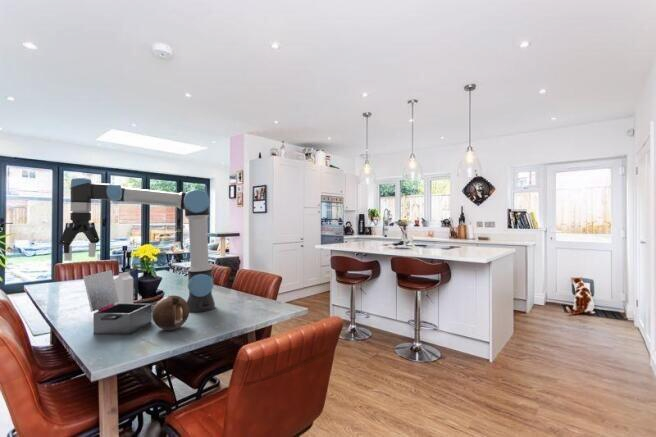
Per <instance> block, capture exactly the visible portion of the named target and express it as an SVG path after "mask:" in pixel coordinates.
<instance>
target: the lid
mask: <svg viewBox="0 0 656 437" xmlns="http://www.w3.org/2000/svg"><path fill="white" fill-rule="evenodd" d="M114 279H115V278H114V274H113V270H112V269H110V270H106V271H103V272H97V273H93V274H89V275H84V276H83V282H84V286H85V287H84V288H85V290H86V294H87V300H88V305H89V308H90V312H91V313H92V312H96V311H98V309H101V308H103V307H106V306H109V305H111V304H113V305H114V303H116V302H119V300H118V296H117V291H116V287H115V282H114Z"/></svg>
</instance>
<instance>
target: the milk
mask: <svg viewBox="0 0 656 437" xmlns="http://www.w3.org/2000/svg"><path fill="white" fill-rule="evenodd" d="M114 282H115V287H116V291H117V296H118V300H119V302H116V303H114V304H113V306H114V305H116V304H134V277H133V276H132V275H130V274H129V271H126V272H125V271H124V272H121V273H118V276H117V277H116V278H114Z"/></svg>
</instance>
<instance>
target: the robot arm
mask: <svg viewBox="0 0 656 437" xmlns="http://www.w3.org/2000/svg"><path fill="white" fill-rule="evenodd" d="M69 189H70V211H71V212H70V213H69V214H70V218H69V219H70V221H71V222H66V223H65V228H64V229H63V230H64V231H63V233H62V235H61V237H60V240H59V241H58V244H59V245H61V247H62V246H63V253H64V255H63V257H64V261H65V262H67V261H68V262H69V261H72V260H73V258H72V257H73V256H72V255H73V245H71V244H72V243H73V241H74V240H75V238H76V237H77V235H78V234H81V233H82V234H84V236H85V237H86V238H87V239H88V241H89V243H88V258H89V257H90V258H94V257H95V258H96V249H97V248H96V244H99V242H100V238H99V237H100V236H99V234H98V232H97V229H96V225H95V222H93V221H92V222H90V221H91V220H92V213H91V212H92V200H104V201H111V202H121V203H131V204H133V203H134V204H140V205H141V204H143V205H151V206H163V207H172V208H178V209H180V210H184V216H185V218H186V219H187V220H188V231H189V232H188V234H189V235H188V236H189V237H188V238H189V255H190V259H189V260H190V267H189V268H188V269H187V281H188V283H187V289H188V297H187V301H186V302H187V304H188V306H189V313H199V312H200V313H201V312H207V311H211V310H214V309H215V308H216V303H215V300H214V296H213V294H212V293H213V292H212V291H213V288H214V278H213V267H212V266H211V265H210V264H209V246H208V245H209V242H208V223H207V221H208V220H207V219H208V218H209V217H210V197H209V195H208V194H207V192H206V191H204V190H202V189H197V188H196V189H195V188H194V189H190V190H188V191H181V192H173V191H171V192H170V191H162V190H153V189H142V188H133V187H125V186H121V184H119V183H118V184H117V183H94V182H92V179H91V178H85V177H74V178H72V179H71V180H70V187H69Z"/></svg>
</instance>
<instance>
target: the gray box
mask: <svg viewBox="0 0 656 437" xmlns="http://www.w3.org/2000/svg"><path fill="white" fill-rule="evenodd" d="M150 324H152V304H151V303H133V304H116V305H114V304H113V306H111V307H109V308H106V309H104V310H101V311H98V310H97V311H95V312H94V313H93V335H112V336H113V335H114V336H115V335H121V336H123V335H124V336H125V335H126V336H130V335H132V334H134V333H135V332H138V331H139V330H141V329H143V328H145V327H147V326H148V325H150Z"/></svg>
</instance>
